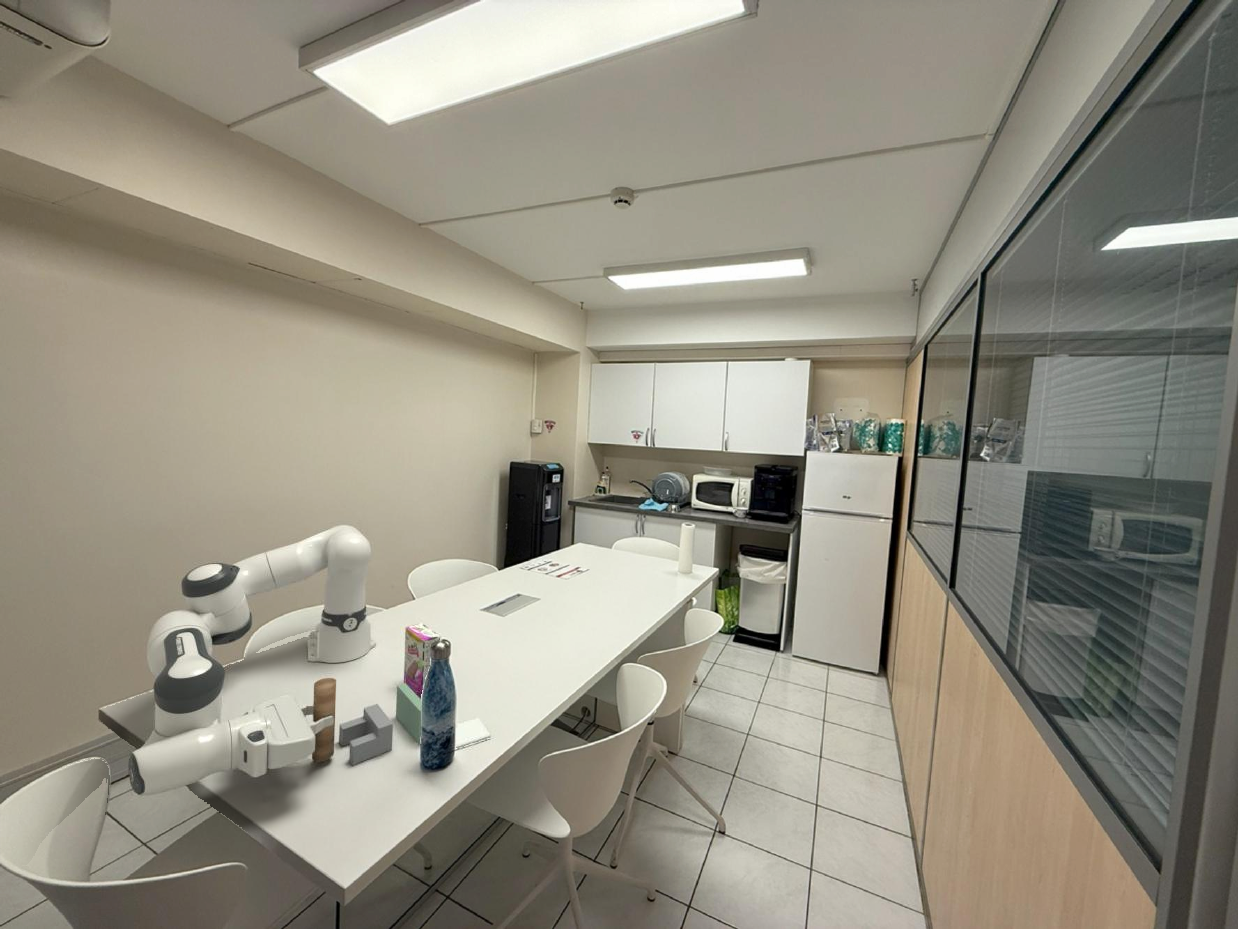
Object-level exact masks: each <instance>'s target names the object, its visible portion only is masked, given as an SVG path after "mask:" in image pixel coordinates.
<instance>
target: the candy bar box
mask: <svg viewBox="0 0 1238 929" xmlns="http://www.w3.org/2000/svg"><path fill="white" fill-rule="evenodd" d="M404 635H405V636H404V637H405V638H404V666H403V668H404V670H403V684H404V683H406V684H407V685H408V686H409V687H410V689H411V690H412V691H413V692H414V693H415V694H416V695H417V696H418V697H419V698H420V699H421V694H422V690H423V685H424V683H425V677H426V675H427V673H428V669H429V667H430V645H431V644H432V642H433V641H436V640H440V641H441V636H440V635H439V634H437V632H435V631H433V630H432V629H431V628H429V627H428V626H426V624H423V623H422V622H421V623H417V624H413V625H409V626H406V627H405V633H404Z"/></svg>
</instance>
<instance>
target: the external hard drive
mask: <svg viewBox="0 0 1238 929" xmlns="http://www.w3.org/2000/svg"><path fill="white" fill-rule="evenodd" d="M456 725H457V728H456V748H457V749H459V748H460V747H464V746H466V745H469V744H471V743H475V742H479V741H481V740H484V739H487V738H490V739H491V734H490V732H489V730H488V729H487V728H486V725H485V724H484V723H483V722H482V720H481V719H480V717H476V718H473V719H471V720H467V721H464V722H461V723H457V724H456ZM459 750H460V749H459Z"/></svg>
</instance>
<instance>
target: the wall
mask: <svg viewBox="0 0 1238 929" xmlns="http://www.w3.org/2000/svg"><path fill="white" fill-rule="evenodd" d="M421 701H423V699H421V698H420V697H419V696H418V695H417V694H416V693H415V692H414V691H413V690H412V689H410V687H409V686H408V685H407V684H406V683H404V682H403V683H401V684H398V685H397V686H396V705H395V717H396V719H397V720H398V721H399V722H400V724H401V725H402V726H403V727H404V729H405V730H406V731H407V732H408V733H409V735H410V736H411V737H412V738H413V740H414V742H416V743H417V745H418V746H419V745H421V744H420V737H421Z"/></svg>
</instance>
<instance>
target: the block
mask: <svg viewBox="0 0 1238 929" xmlns="http://www.w3.org/2000/svg"><path fill="white" fill-rule="evenodd" d="M393 728H394V723H393V722H392V720H391V719H390V718H389V716H387V714H386V713H385V712H384V710H383V709H382V708H381V706H380V705H379V704H378V703H376V704H372V705H369V706H366V707H364V708H363V716H360V717H357V718H355V719H351V720H349V721H346V722H342V723H340V724H339V733H338V734H339V735H338V742H339V744H340V746H341V747H346V746H348V745H349V753H348V755H349V761H350V762H351V764H352V765H356V764H359V763H361V762H364V761H366V760H368V759H371V758H374V757H376V756H378V755H381V754H384V753H386V752H389V751H391V750H392V749H393V735H394V734H393V733H394V732H393V730H394V729H393Z"/></svg>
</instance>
